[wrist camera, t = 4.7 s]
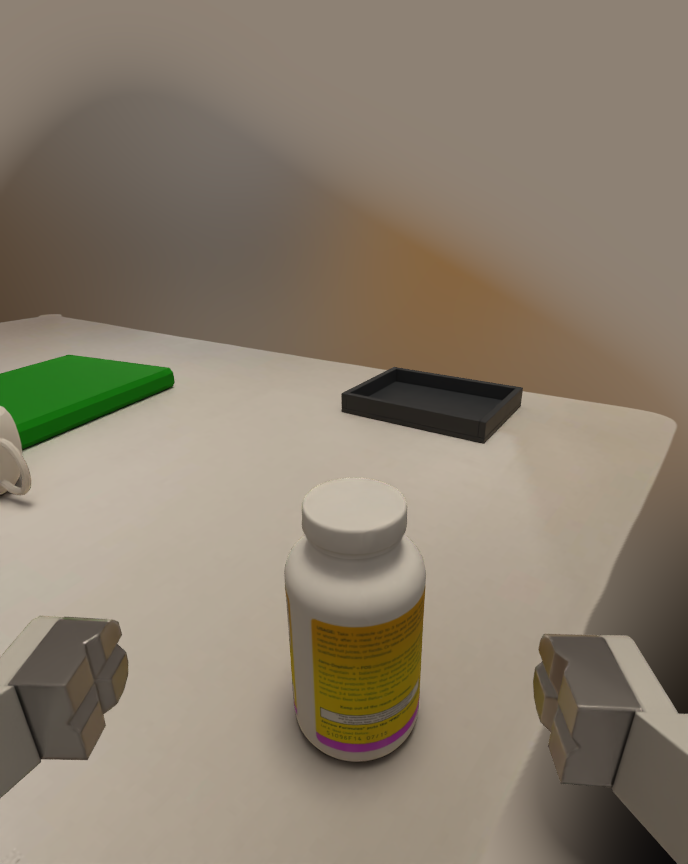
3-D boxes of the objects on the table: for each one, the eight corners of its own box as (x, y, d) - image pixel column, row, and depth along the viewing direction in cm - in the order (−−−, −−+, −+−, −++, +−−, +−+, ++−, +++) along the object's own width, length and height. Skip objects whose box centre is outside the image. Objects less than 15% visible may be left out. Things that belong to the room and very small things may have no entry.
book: (-118, 431, 65) (-127, 408, 64) (72, 371, 88) (68, 354, 87) (-2, 461, 56) (-10, 436, 55) (175, 386, 80) (172, 368, 78)
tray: (520, 405, 70) (523, 387, 69) (483, 443, 59) (486, 422, 58) (393, 383, 80) (394, 366, 79) (341, 411, 69) (341, 393, 68)
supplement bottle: (444, 720, 27) (463, 510, 22) (341, 797, 23) (335, 569, 18) (366, 641, 32) (368, 455, 27) (272, 695, 29) (253, 493, 23)
